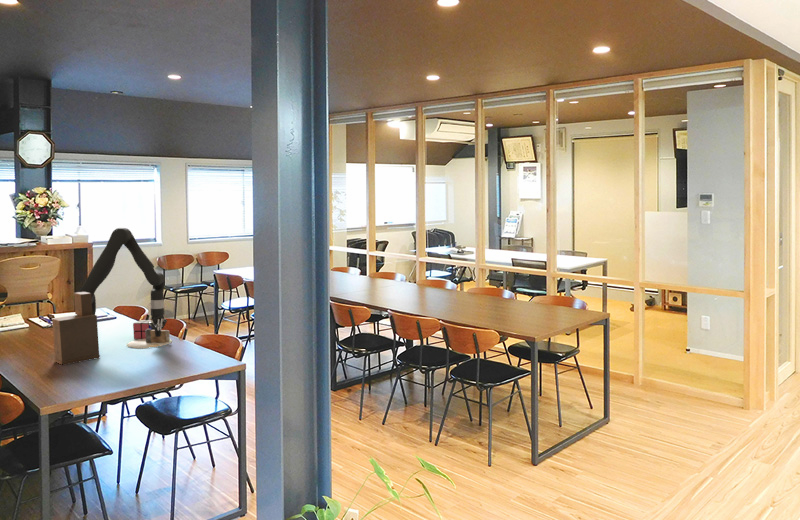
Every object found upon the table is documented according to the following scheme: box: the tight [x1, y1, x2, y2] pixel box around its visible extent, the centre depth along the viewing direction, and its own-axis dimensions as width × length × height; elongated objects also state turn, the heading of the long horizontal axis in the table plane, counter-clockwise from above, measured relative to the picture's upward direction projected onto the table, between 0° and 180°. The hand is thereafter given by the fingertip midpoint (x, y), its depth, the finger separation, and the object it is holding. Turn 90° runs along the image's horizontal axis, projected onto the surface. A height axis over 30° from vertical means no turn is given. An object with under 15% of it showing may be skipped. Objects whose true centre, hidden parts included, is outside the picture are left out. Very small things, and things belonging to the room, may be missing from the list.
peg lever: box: [145, 329, 171, 343], centre depth 369 cm, size 15×4×8 cm, turn 79°
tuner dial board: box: [126, 338, 173, 349], centre depth 370 cm, size 25×25×1 cm
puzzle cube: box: [132, 319, 152, 340], centre depth 387 cm, size 10×10×10 cm
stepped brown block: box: [51, 291, 101, 366], centre depth 334 cm, size 19×14×35 cm
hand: (158, 336), depth 365 cm, fingers closed
